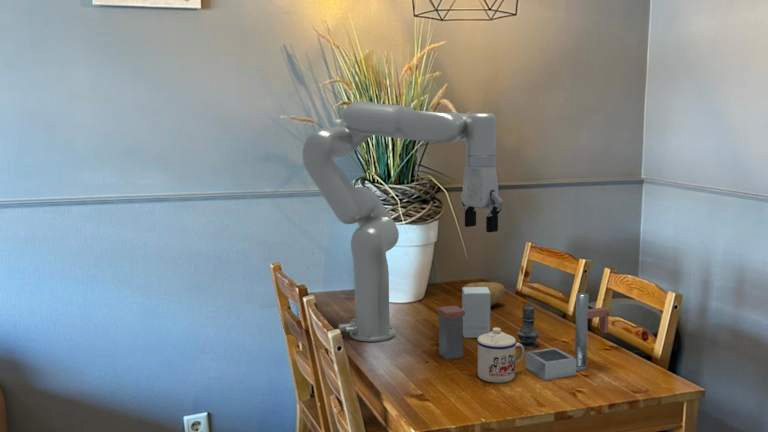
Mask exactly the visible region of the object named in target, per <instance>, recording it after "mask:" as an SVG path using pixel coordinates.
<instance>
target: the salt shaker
mask: <svg viewBox="0 0 768 432" xmlns="http://www.w3.org/2000/svg"><path fill="white" fill-rule="evenodd" d="M520 320H521V322H522V323H521V325H522V326H521V329H518V330H517V331H516V334H517V337H518V339H519V341H520V342H519V343H520V344H521V345H522V346H523V347H524V350H533V349H537V348H538V347H539V345H538V344H537V343H536V341H537V340H538V338H539V335H540V332H539V331H538V330H536V329H535V321H536V318H535V308H534V306H533V305H531V304H530V301H528V302H527V304H525V305H523V307H522V317H521V318H520ZM517 347H518V348H520V347H519V346H517Z"/></svg>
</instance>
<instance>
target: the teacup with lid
mask: <svg viewBox="0 0 768 432" xmlns="http://www.w3.org/2000/svg"><path fill="white" fill-rule="evenodd" d="M516 340H517V339H516V338H515V337H514V336H512V335H510V334H508V333H505V332H504V331H502V329H501V328H500V327H493V328H492V331H491V330H490V332H489V333H487V334H483V335H481V336H479V337H478V338H477V339H476V344H477V376H478V378H479V379H480V380H483V381H485V382H489V383H493V384H495V383H498V384H499V383H500V384H501V383H507V382H511V381H512V380H514V378H515V377H516V364H518V363H519V362H521V361H522V359H523V358H524V356H525V349H524V347H523V346H522V345H521V344H520V342H517V341H516ZM518 346H519V347H518ZM516 347H518V348H519V354H518V355H517V357H516Z"/></svg>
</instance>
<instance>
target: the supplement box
mask: <svg viewBox="0 0 768 432" xmlns="http://www.w3.org/2000/svg"><path fill="white" fill-rule="evenodd" d="M461 292H462V293H461V309H463V310H464V311H465V315H464V316H463V339H464V338H467V339H468V338H471V339H474V338H476V339H478V337H479V336H481V335H483V334H487V333H489V332H491V306H490V295H491V293H490V291H489V289H488V287H464V286H462V290H461Z"/></svg>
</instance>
